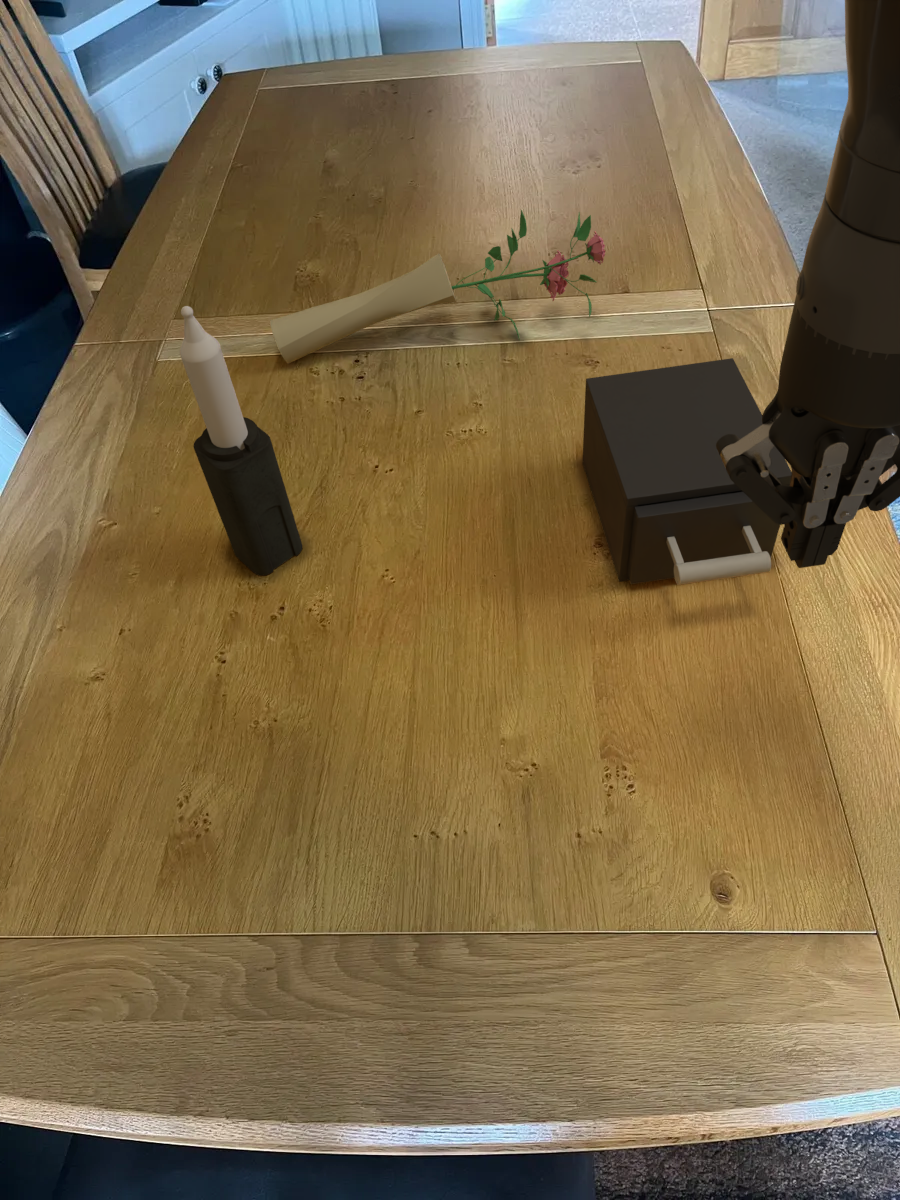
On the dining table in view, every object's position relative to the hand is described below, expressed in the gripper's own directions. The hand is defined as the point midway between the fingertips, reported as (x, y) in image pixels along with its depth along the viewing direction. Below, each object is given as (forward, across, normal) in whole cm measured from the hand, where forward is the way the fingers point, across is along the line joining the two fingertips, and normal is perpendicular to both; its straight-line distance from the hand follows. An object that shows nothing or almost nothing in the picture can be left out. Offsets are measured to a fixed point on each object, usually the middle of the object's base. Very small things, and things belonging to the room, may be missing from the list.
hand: (805, 555), depth 55 cm
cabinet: (+18, 0, +22) cm, 28 cm away
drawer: (+17, 0, +18) cm, 25 cm away
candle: (+18, -36, +24) cm, 47 cm away
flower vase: (+18, -18, +52) cm, 58 cm away
